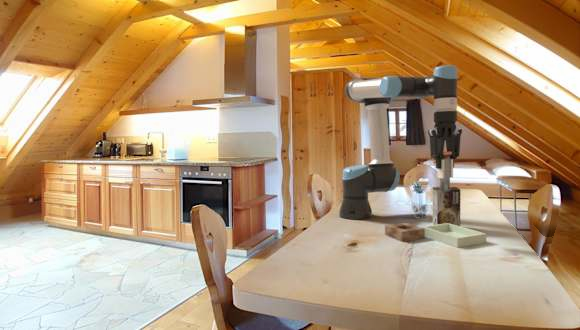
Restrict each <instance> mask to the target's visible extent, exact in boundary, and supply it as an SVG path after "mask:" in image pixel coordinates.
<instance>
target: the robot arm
mask: <svg viewBox="0 0 580 330" xmlns="http://www.w3.org/2000/svg"><path fill="white" fill-rule="evenodd" d="M458 78H459V77H458V67H456V66H455V65H452V64H451V65H449V64H447V65H440V66H436V67H435V68H434V69H433V75H429V76H401V75H400V76H399V75H398V76H396V75H387V76H383V77H382V78H380V77H377V78H374V77H373V78H372V77H358V78H352V79H351V80H349V81H348V82H347V83H346V85H345V87H344V94H345V96H346V99H348V100H349V101H350V102H352V103H357V104H364V109H365V110H367V112H368V127H369V128H368V129H369V143H370V144H369V145H370V160H371V161H370V162H369V163H368V165H366V164H359V165H352V166H347V167H345V168H344V169H343V170H342V178H341V179H342V201H341V204H340V207H339V211H338V213H339V214H338V216H339V217H340V218H343V219H346V220H347V219H348V220H366V219H370V218H372V217H373V211H372V208H371V205H370V202H369V193H370V194H371V193H382V192H383V193H387V192H392V191H394V190H395V189H397V187H398V186H399V182H400V180H401V178H400V172H399V169H398V168H397V167H396V166H394V165H395V164H394V161H392V160H391V157H390V156H391V155H390V142H389V128H388V127H389V125H388V124H389V123H388V110H387V109H388V108H389V107H390V103H392V101H393V100H394V98H416V99H418V100H419V99H420V100H421V99H423V100H424V99H427V98H432V97H433V111H435V112H434V113H433V122H434V123H435V124H434V127H433V128H432V129H428V130H427V133H428V136H429V150H430V157H431V158H433V160H435V169H436V178H438V179H440V178H444V160H442V158H443V151H444V149H445V147H446V151H452V155H450V179H452V178H454V168H455V160H456V159H457V158H459V157H460V149H461V137H462V134H463V130H462V129H459V128H457V125H456V122H457V121H458V112H457V111H456V110H458Z"/></svg>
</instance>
